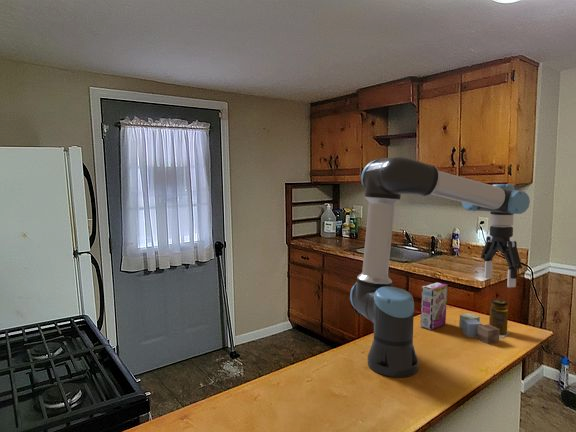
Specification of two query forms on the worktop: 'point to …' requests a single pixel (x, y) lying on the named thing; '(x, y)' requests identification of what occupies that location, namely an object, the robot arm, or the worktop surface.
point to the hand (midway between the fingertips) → (499, 282)
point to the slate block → (470, 327)
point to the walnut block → (488, 334)
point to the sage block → (467, 316)
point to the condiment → (499, 316)
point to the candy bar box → (433, 305)
